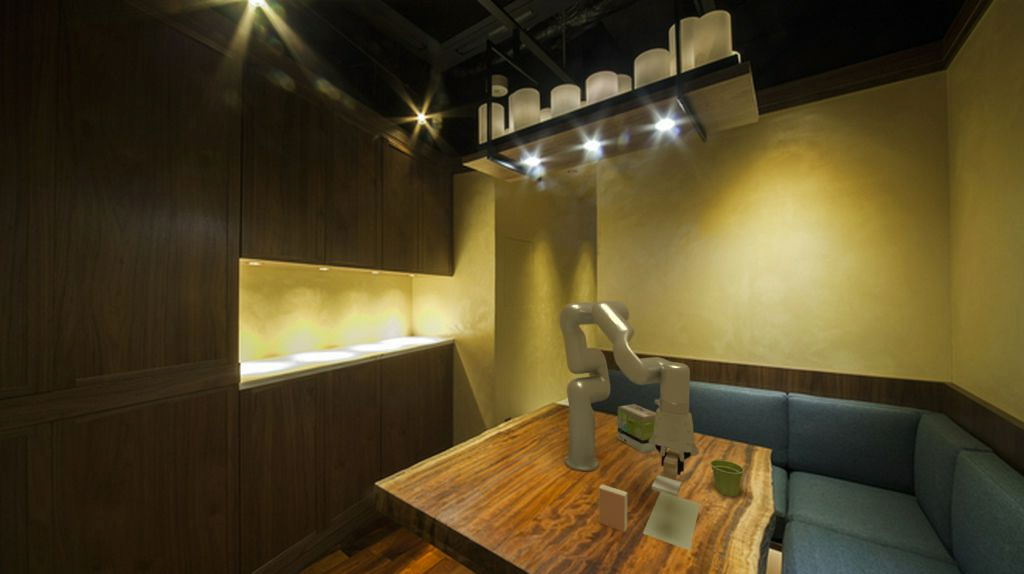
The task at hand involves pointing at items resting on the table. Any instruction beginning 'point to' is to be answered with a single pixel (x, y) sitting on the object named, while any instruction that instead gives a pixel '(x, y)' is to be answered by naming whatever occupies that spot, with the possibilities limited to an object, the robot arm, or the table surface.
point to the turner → (669, 475)
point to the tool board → (673, 520)
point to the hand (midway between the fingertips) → (672, 470)
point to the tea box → (636, 427)
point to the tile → (613, 507)
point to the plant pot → (727, 477)
